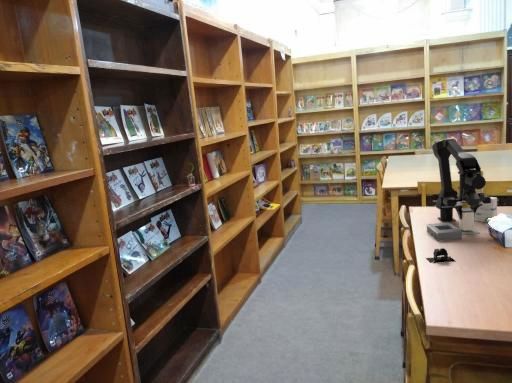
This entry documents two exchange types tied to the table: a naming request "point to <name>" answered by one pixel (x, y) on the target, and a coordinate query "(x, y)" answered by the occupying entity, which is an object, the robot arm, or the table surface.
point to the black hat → (442, 253)
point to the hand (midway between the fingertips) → (466, 219)
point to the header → (444, 231)
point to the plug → (467, 219)
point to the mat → (469, 231)
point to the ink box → (486, 210)
